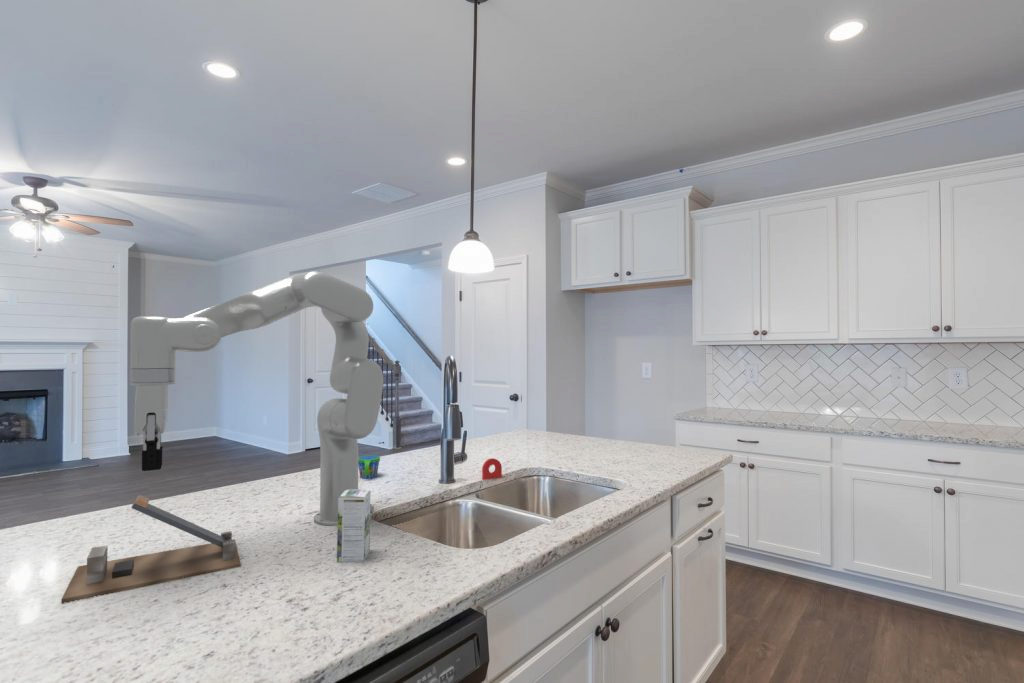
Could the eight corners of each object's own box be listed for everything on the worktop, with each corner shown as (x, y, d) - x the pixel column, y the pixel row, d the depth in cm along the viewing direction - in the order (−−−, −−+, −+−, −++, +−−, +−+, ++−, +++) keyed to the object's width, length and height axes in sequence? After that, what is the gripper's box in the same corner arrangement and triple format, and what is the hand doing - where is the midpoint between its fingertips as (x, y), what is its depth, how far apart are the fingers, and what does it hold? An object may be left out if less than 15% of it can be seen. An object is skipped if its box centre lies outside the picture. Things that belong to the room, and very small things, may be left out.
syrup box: (343, 555, 113) (343, 489, 113) (370, 554, 113) (370, 488, 113) (336, 566, 107) (336, 496, 107) (365, 565, 108) (365, 495, 108)
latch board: (234, 544, 119) (235, 518, 119) (240, 569, 105) (241, 540, 105) (78, 572, 104) (78, 542, 104) (61, 606, 90) (61, 571, 91)
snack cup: (361, 474, 184) (361, 454, 184) (382, 474, 184) (382, 453, 184) (353, 483, 173) (353, 461, 173) (376, 483, 173) (376, 460, 173)
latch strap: (228, 545, 113) (234, 537, 114) (230, 553, 109) (236, 544, 110) (132, 503, 104) (139, 494, 105) (129, 510, 100) (137, 500, 101)
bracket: (487, 486, 170) (488, 462, 170) (482, 482, 174) (482, 459, 174) (519, 481, 176) (519, 458, 176) (513, 478, 180) (513, 456, 180)
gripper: (133, 375, 109) (132, 462, 109) (125, 380, 96) (124, 479, 95) (176, 375, 113) (175, 458, 113) (174, 378, 100) (173, 474, 99)
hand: (152, 467), depth 104 cm, fingers closed
